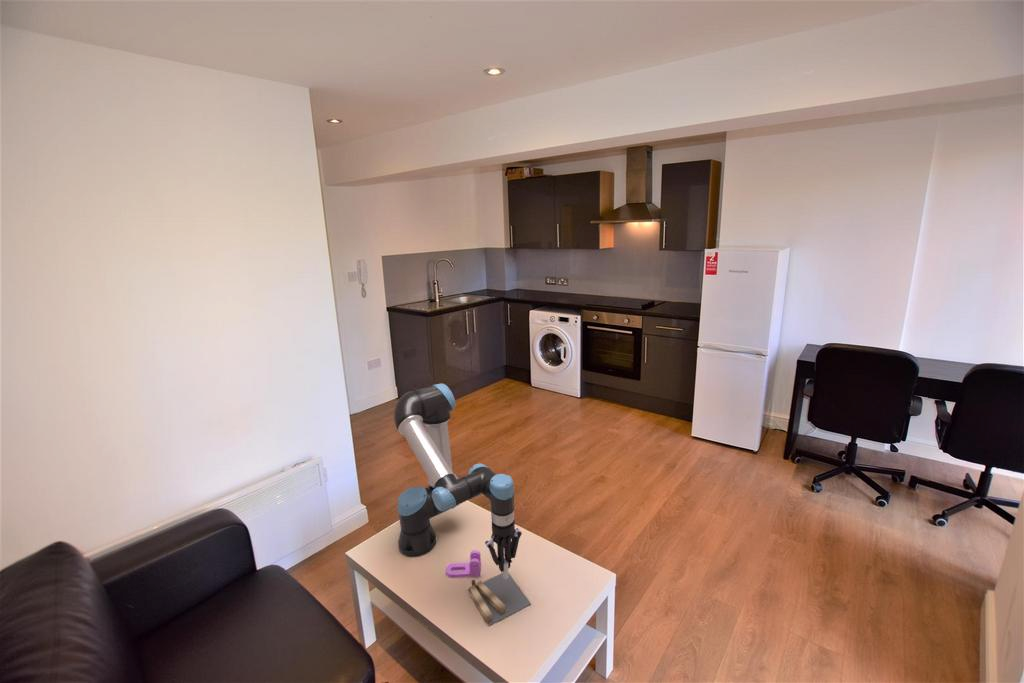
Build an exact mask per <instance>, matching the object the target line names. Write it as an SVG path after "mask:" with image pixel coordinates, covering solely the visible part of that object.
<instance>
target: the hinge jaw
mask: <svg viewBox="0 0 1024 683" xmlns="http://www.w3.org/2000/svg"><path fill="white" fill-rule="evenodd" d="M482 582H483V581H481V580H479V581H477V582H476V589H477V590H478V591H479V593H480V594H481V595H482V596H483V597H484V598H485V599H486V600H487V601H488V602H489V603H490V604H491V605H492V606H493V607H494V608H495V609H496V610H497V611H498V612H499V613H500V614H503V613H504V612H505V611H506V610H505V605H504V604H503V603H502V602H501V601H500V600H499V599H498V598H497V597H496V596H495V595H494V594H493V593H492V592H491V591H490V590H489V589H488V588H487V587H486V586H485V585H484V584H483V583H482Z"/></svg>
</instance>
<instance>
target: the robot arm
mask: <svg viewBox="0 0 1024 683" xmlns="http://www.w3.org/2000/svg"><path fill="white" fill-rule="evenodd" d="M455 409H456V399H455V396H454V394H453V392H452V390H451V389H450V387H448V386H447V384H445V383H438V384H436V383H435V384H431V385H429V386H425V387H422V388H418V389H415V390H412V391H411V390H409V391H407V392H405V393H404V394H403V395H401V397H400V398H399V399H398V400H397V402H396V404H395V406H394V411H393V422H394V425H395V428H396V429H397V431H398V433H399V434H400V435H403V436H404V438H405V439H406V441H407V443H408V445H409V446H410V448H411V449H412V452H413V454H414V455H415V457H416V459H417V460H418V462H419V464H420V466H422V468H423V470H424V472H425V474H426V476H427V478H428V487H423V486H419V485H418V486H411V487H409V488H407V489H405V490H404V491H403V492H402V493H401V494H400V495H399V498H398V499H397V513H398V517H399V525H400V532H399V536H398V540H397V543H398V545H397V546H398V550H399V553H400V554H402V555H404V556H406V557H409V558H416V557H421V556H425V555H426V554H429V553H430V552H431V551H432V550H433V549H434V548H435V546H436V544H437V535H436V532H435V530H434V528H433V526H432V524H431V520H430V519H432V518H434V517H436V516H439V515H441V514H442V513H445V512H447V511H449V510H452V509H455V508H456V507H458V506H460V505H461V504H462V503H465V502H467V501H469V500H472V499H474V498H477V497H479V496H481V495H484V496H485V497H486V498H487V499H488V500H489V502H490V510H491V511H490V515H491V517H490V518H491V531H492V532H491V533H492V534H491V536H490V539H489V540H486V541H484V544H485V545H486V547H487V548H488V551H489V553H490V556H491V558H492V561H493V563H494V564H495V565H496V567H498V570H499V571H500V574H501V575H502V576H503V578H504V579H507V578H509V574H510V571H509V569H510V568H511V563H513V560H512V559H516V557H517V552H518V547H519V541H520V538H521V536H523V535H522V534H523V533H522V531H521V530H520V529H519V528H518V527H517V528H515V527H516V526H515V525H516V524H515V488H514V487H515V486H514V480H513V478H512V477H511V476H510V475H509V474H505V473H498V474H496V473H495V472H494V471H493V469H491V468H490V467H489V466H487V465H485V464H484V463H476V464H473V466H472V467H470V469H469V471H468V473H467V474H466V475H464V476H462V477H458V476H457V475H456V473H454V472H453V465H452V464H453V462H452V453H451V445H450V435H449V434H450V433H449V426H448V425H449V424H448V422H449V421H450V420H451V416H452V415H451V412H453V411H454V410H455ZM495 544H496V548H497V551H496V549H495Z"/></svg>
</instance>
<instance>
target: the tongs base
mask: <svg viewBox="0 0 1024 683" xmlns="http://www.w3.org/2000/svg"><path fill="white" fill-rule="evenodd" d="M476 583H477V582H476V580H475V579H472V580H471V585H470V586H468V589H469V591H468V592H469V594H470V596H471V599H472V600H473V602H474V603H475V605H476V607H477V608H478V611H479V612H480V613H481V615H482V617H483V619H484V621H485V622H486V623H488V622H490V621H492V613H491V612H490V610H489V608H488V607H487V605H486V604H485V602H484V600H483V599H482V597H481V595H480V594H479V592H478V590H477V589H476Z"/></svg>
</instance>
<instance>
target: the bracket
mask: <svg viewBox="0 0 1024 683" xmlns="http://www.w3.org/2000/svg"><path fill="white" fill-rule="evenodd" d="M469 554H470V555H469V562H454V563H453V562H452V563H450V564H448V565H447V566H446V567H445V575H446V576H447V577H448V578H450V579H452V578H453V579H454V578H469V577H470V578H474V577H481V573H482V572H481V571H482V570H481V569H482V559H481V552H480V551H479V550H476V549H473V550H471V552H470V553H469Z"/></svg>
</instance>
